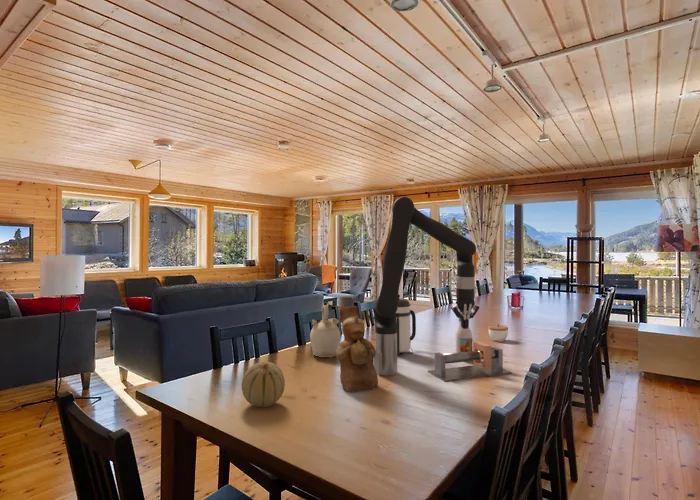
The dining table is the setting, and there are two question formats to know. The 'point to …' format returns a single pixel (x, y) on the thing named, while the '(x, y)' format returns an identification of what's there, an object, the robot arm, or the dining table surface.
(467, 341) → the milk bottle
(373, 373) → the ceramic vessel
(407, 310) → the coffee press
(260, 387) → the cantaloupe
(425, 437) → the dining table surface
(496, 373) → the rail
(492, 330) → the lidded jar
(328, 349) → the jug
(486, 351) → the collar
